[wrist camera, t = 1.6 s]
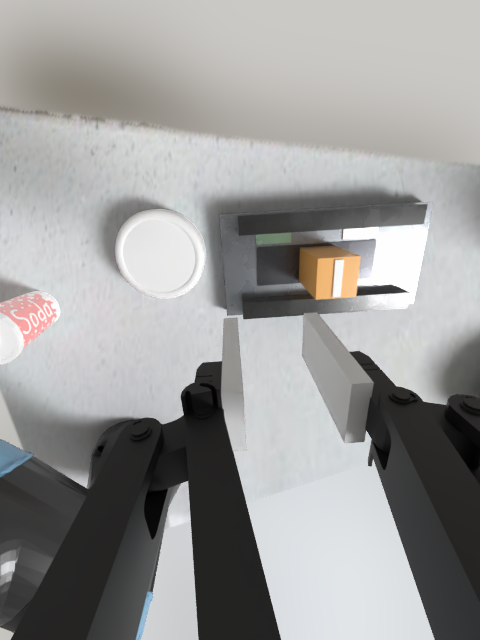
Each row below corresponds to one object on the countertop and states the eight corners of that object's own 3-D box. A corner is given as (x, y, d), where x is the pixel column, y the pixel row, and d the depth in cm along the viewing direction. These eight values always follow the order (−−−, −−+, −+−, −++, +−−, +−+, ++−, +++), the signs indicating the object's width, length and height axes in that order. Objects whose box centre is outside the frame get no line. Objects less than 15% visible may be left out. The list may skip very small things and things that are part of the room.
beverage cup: (71, 328, 37) (-11, 395, 24) (24, 329, 37) (-84, 397, 24) (59, 284, 35) (-39, 332, 22) (10, 285, 35) (-120, 334, 22)
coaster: (115, 274, 35) (104, 281, 32) (136, 194, 31) (125, 193, 28) (191, 302, 37) (187, 311, 33) (218, 229, 33) (217, 232, 30)
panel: (227, 309, 37) (227, 321, 33) (219, 214, 32) (218, 215, 29) (404, 298, 37) (423, 308, 34) (422, 201, 33) (446, 201, 29)
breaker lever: (298, 281, 34) (316, 300, 27) (299, 247, 32) (318, 259, 25) (331, 278, 34) (356, 297, 27) (334, 245, 32) (361, 256, 25)
